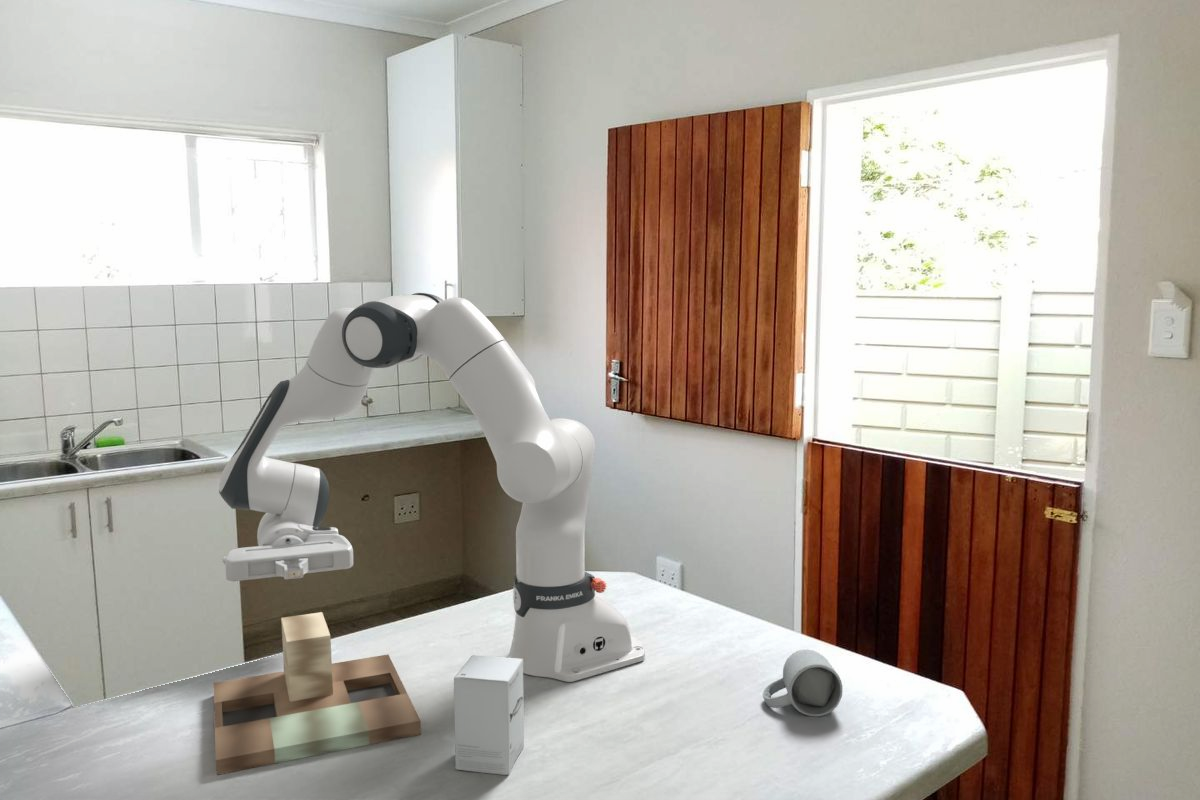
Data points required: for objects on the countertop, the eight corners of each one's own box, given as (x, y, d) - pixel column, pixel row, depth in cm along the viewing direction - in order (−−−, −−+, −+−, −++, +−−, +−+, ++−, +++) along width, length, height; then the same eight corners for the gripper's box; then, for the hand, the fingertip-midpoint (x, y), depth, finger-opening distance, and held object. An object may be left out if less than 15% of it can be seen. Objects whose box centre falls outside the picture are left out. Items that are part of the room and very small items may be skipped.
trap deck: (388, 666, 149) (388, 654, 149) (421, 734, 127) (420, 720, 127) (214, 695, 139) (213, 682, 138) (216, 774, 117) (215, 760, 117)
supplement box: (509, 776, 116) (508, 681, 115) (453, 770, 118) (451, 676, 116) (526, 747, 123) (524, 657, 122) (473, 741, 125) (471, 653, 123)
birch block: (324, 667, 144) (322, 612, 143) (333, 694, 135) (330, 635, 133) (284, 674, 141) (281, 617, 140) (289, 701, 132) (286, 641, 131)
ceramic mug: (828, 690, 140) (828, 642, 139) (842, 716, 132) (843, 665, 131) (758, 692, 140) (758, 644, 139) (768, 718, 132) (768, 667, 130)
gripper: (221, 538, 156) (223, 562, 143) (345, 526, 164) (357, 548, 151) (223, 573, 157) (225, 601, 144) (346, 560, 165) (358, 585, 152)
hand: (294, 574), depth 148 cm, fingers closed
